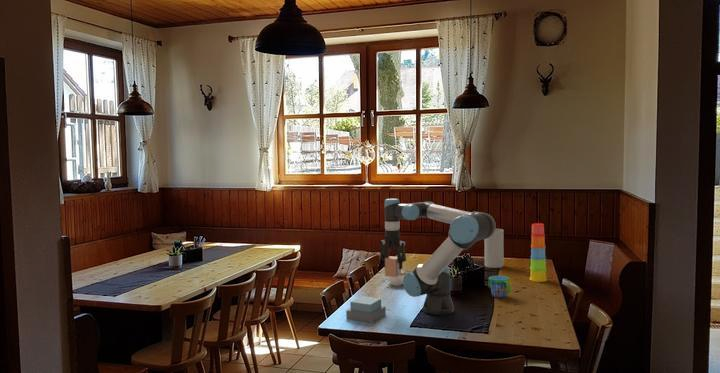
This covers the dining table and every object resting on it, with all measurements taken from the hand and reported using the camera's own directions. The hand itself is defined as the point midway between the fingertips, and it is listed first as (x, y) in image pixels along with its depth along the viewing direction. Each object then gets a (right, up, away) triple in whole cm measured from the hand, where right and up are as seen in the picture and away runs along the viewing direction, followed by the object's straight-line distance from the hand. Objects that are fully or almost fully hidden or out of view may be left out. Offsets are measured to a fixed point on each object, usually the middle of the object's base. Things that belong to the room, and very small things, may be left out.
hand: (393, 274), depth 269 cm
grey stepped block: (-14, -19, -11) cm, 26 cm away
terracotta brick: (0, 0, 0) cm, 0 cm away
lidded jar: (+5, -14, +49) cm, 51 cm away
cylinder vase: (+74, -10, +92) cm, 119 cm away
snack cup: (+59, -15, +20) cm, 64 cm away
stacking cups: (+91, -12, +53) cm, 106 cm away
